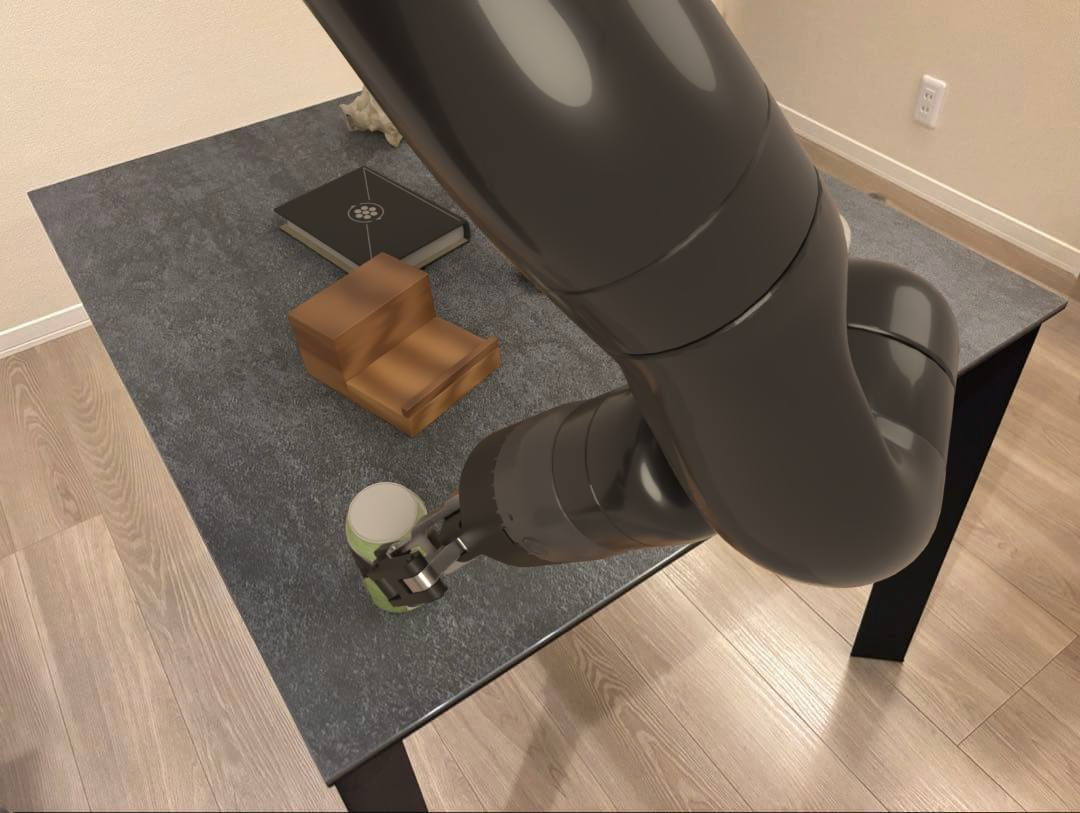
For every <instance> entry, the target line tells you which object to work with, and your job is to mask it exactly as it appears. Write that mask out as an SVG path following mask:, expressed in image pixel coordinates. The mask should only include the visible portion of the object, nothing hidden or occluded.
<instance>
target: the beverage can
mask: <svg viewBox="0 0 1080 813" xmlns="http://www.w3.org/2000/svg"><path fill="white" fill-rule="evenodd" d="M426 514H428V511H427V507H426V505H425V503H424V502H423V500H422V499H421V498H420V496H419V495H418V494H417V493H415V492H414V491H413V490H411V489H409V488H408V487H406V486H404V485H403V484H400V483H396V482H391V481H381V482H377V483H373V484H370V485H369V486H366V487H365V488H363V489H362V490H361V491H360V490H359V492H358V493H357V494H356V495H355V496H354V497H353V499H352V501H351V502H350V505H349V507H348V508H347V510H346V513H345V515H344V520H343V533H344V537H345V540H346V543H347V545H348V547H349V550H350V553H351V556H352V558H353V561H354V563H355V565H356V569H357V570H358V573H359V576H360V578H361V581H362V584H363V587H364V589H365V591H366V593H367V596H368V597H369V599H370V600H371V602H372V603H373V604H374V605H375V606H376V607H378V608H380V609H382V610H384V611H386V612H391V613H395V614H396V613H397V614H398V613H399V614H402V613H408V612H411V611H415V610H417V609H419V608H421V607H422V606H424V605H425V604H426V603H423V604H415V605H407V606H400V607H393V606H392V605H391V604H390V603H389V601H388V599H387V598H386V596H385V595H384V594H383V593H382V591H381V590H380V589H379V588H378V587H377V585H376V584H375V583H374V582H373V581H371V579H370V578H369V577H368V576H367V572H368V571H369V570H370V567H371V566H372V565H373V561H374V560H375V559H377V558H376V556H375V555H374V551H375V550H376V549H378V548H379V547H380V546H381V545H382V544H386V543H390V542H395V541H400V540H403V539H404V538H406V537H407V536H409V535H410V534H411V530H412V528H413V527H414V526H415V524H416V523H417V522H418V520H419V519H420V518H421V517H423V516H425V515H426ZM416 548H417V549H418V550H419V551H420V552H421V554H422V555H423V556H424V557H425V556H427V554H426V553H425V552H424V550H423V549H422V548H421V547H420V546H414V547H413V548H411V551H413V550H414V549H416Z"/></svg>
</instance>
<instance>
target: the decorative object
mask: <svg viewBox="0 0 1080 813" xmlns="http://www.w3.org/2000/svg"><path fill="white" fill-rule="evenodd" d="M338 107H339V108H341V110H342V112H343V114H344V117H345V120H346V127H347V128H346V129H347V130H348V131H349V133H355V131H361V132H367V130H369V131H371V132H375V131H379V132H381V133H383V135H384V137H385V140H386V142H388V143H389V145H391V146H392V147H394V148H398V147H399V146H400V142H401V140H402V139H403V137H402V136H401V134H400V133H399V132H398V130H397V129H396V128H395V126H394V125H393V124H392V122H391V121H390V120H389V118H388V117H387V116H386V114H385V113H384V112H383V110H382V109H381V108H380V106H379V105H378V103H377V102H376V101H375V99H374V98H373V96H372V95H371V94H370V92H369V91H368V89H367V88H366V87H365V85H364V84H363V85H362V90H361V94H360V95H356V97H355V99H354V100H353V101H352V102H351V103H350V104H346V103H345V104H344V103H343V104H342V103H341V104H339V105H338Z"/></svg>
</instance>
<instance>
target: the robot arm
mask: <svg viewBox="0 0 1080 813" xmlns="http://www.w3.org/2000/svg"><path fill="white" fill-rule="evenodd" d="M301 1H302V2H303V4H304V5H305V6H306V8H307V9H308V10H309V12H310V13H311V14H312V16H313V17H314V19H315V20H316V21H317V22H318V24H319V25H320V26H321V28H322V29H323V31H324V32H325V33H326V34H327V36H328V38H330V40H331V41H332V43H333V45H335V47H336V48H337V50H338V51H339V52H340V54H341V55H342V56H343V58H344V59H345V61H346V62H347V63H348V65H349V66H350V67H351V69H352V70H353V71H354V73H355V75H356V76H357V77H358V79H359V80H360V81H361V83H362V84H363V85H365V87H366V88H367V89H368V91H369V92H370V94H371V95H372V96H373V98H374V99H375V101H376V102H377V103H378V105H379V106H380V108H381V109H382V110H383V112H384V113H385V114H386V116H387V117H388V118H389V120H390V121H391V122H392V124H393V125H394V126H395V128H396V129H397V130H398V132H399V133H400V134H401V136H402V139H403V140H404V141H405V143H406V144H407V145H408V146H409V147H410V149H411V150H412V152H413V153H414V154H415V155H416V157H417V158H418V159H419V160H420V162H421V163H422V164H423V165H424V167H425V168H426V169H427V170H428V171H429V173H430V174H431V176H432V177H433V178H434V179H435V180H436V182H437V183H438V184H439V185H440V186H441V187H442V188H443V190H444V191H445V192H446V194H448V196H449V197H450V198H451V199H452V201H453V202H454V203H455V204H456V205H457V206H458V207H459V208H460V209H461V211H462V212H463V213H464V214H465V215H466V216H467V217H468V218H469V220H470V221H471V222H472V224H474V225H475V227H476V228H478V230H480V232H481V233H482V234H483V235H484V236H485V237H486V238H487V239H488V240H489V242H491V243H492V244H493V245H494V246H495V247H496V248H497V250H498V251H499V252H500V253H502V255H504V257H505V258H506V259H508V260H509V261H510V263H512V265H514V266H515V267H516V269H518V271H520V272H521V273H522V275H523V276H524V275H525V276H526V277H527V278H528V279H527V278H526V277H525V276H524V277H525V278H526V279H527V280H529V282H531V283H532V284H533V286H535V287H536V288H537V289H538V290H539V291H540V292H541V293H542V294H543V295H544V296H545V297H546V298H548V300H550V301H551V302H552V303H553V304H554V306H556V307H557V308H558V309H559V310H560V311H561V312H562V313H563V314H564V315H565V316H566V317H567V318H568V319H570V320H571V322H572V323H574V324H575V325H576V326H577V327H578V329H580V330H581V331H582V332H583V333H584V334H585V335H586V336H587V337H588V338H589V339H591V341H592V342H594V343H595V345H597V347H599V348H600V349H601V350H602V351H604V353H606V354H607V355H608V356H609V357H610V358H611V359H612V360H613V361H614V362H615V363H616V364H617V365H618V367H619V368H620V370H621V372H622V374H623V376H624V379H625V381H626V383H627V384H625V385H622V386H619V387H617V388H614V389H612V390H609V391H607V392H604V393H602V394H599V395H597V396H595V397H592V398H591V397H590V398H589V399H588V398H587V399H581V400H574V401H570V402H566V403H563V404H560V405H557V406H555V407H552V408H550V409H548V410H544V411H542V412H540V413H537V414H534V415H533V416H530V417H528V418H525V419H522V420H520V421H518V422H515V423H513V424H510V425H508V426H505V427H503V428H501V429H498V430H496V431H494V432H491V433H490V434H488V435H487V436H485V437H484V438H482V439H481V440H480V441H479V442H478V443H477V444H476V445H475V446H474V447H473V449H472V450H471V451H470V453H469V454H468V456H467V458H466V460H465V462H464V464H463V467H462V469H461V473H460V476H459V483H458V488H457V489H456V490H454V491H452V493H451V494H450V495H449V497H448V498H447V500H445V502H444V503H442V504H440V505H439V506H437V507H435V508H434V509H432V510H431V511H429V512H427V514H426V515H425V516H423V517H421V518H420V519H419V520H418V522H417V523H416V524H415V526H414V527H413V528H412V530H411V534H410V535H409V536H407V537H406V538H404V539H403V540H400V541H395V542H390V543H386V544H382V545H381V546H380V547H379V548H378V549H376V550H375V551H374V555H375V556H376V558H377V559H375V560H374V561H373V565H372V566H371V567H370V570H369V571H368V572H367V576H368V577H369V578H370V579H371V581H373V582H374V583H375V584H376V585H377V587H378V588H379V589H380V590H381V591H382V593H383V594H384V595H385V596H386V598H387V599H388V601H389V603H390V604H391V605H392V606H393V607H400V606H407V605H415V604H423V603H425V604H429V603H433V602H435V601H439V600H441V598H442V597H444V595H445V593H446V592H447V591H448V589H449V586H448V585H447V583H445V581H444V579H443V578H442V577H441V576H442V575H445V576H447V575H451V574H452V573H454V572H455V571H457V570H459V569H460V568H463V567H464V566H466V565H467V564H469V563H470V562H472V561H474V560H476V559H478V558H479V557H488V558H490V559H492V560H494V561H497V562H499V563H502V564H505V565H508V566H511V567H517V568H536V567H544V566H545V567H546V566H554V565H564V564H572V563H581V562H592V561H600V560H606V559H609V558H613V557H615V556H619V555H622V554H624V553H626V552H633V551H642V550H650V549H651V550H652V549H658V548H668V547H675V546H684V545H690V544H695V543H699V542H702V541H705V540H707V539H710V538H712V537H714V536H716V535H718V536H719V537H720V538H721V539H722V540H723V541H724V542H726V544H728V545H729V546H730V547H731V548H732V549H733V550H734V551H736V552H738V553H739V554H740V555H741V556H743V557H745V558H746V559H748V560H749V561H750V562H752V563H753V564H755V565H756V566H758V567H761V568H762V569H763V570H765V571H768V572H770V573H772V574H774V575H776V576H779V577H781V578H784V579H786V580H789V581H791V582H795V583H798V584H802V585H806V586H812V587H817V588H829V589H852V588H853V589H854V588H860V587H864V586H868V585H872V584H875V583H877V582H881V581H883V580H886V579H889V578H891V577H892V576H894V575H896V574H897V573H899V572H900V571H902V570H904V569H905V568H907V567H908V566H909V565H910V564H912V563H913V562H914V561H915V560H916V559H917V558H918V557H919V556H920V555H921V553H922V552H923V551H924V550H925V548H926V547H927V545H928V544H929V543H930V541H931V538H932V536H933V535H934V533H935V530H936V528H937V525H938V522H939V518H940V515H941V512H942V506H943V505H942V504H943V500H944V499H943V498H944V492H945V491H944V490H945V483H946V474H947V463H948V454H949V447H950V446H949V445H950V437H951V429H952V421H953V412H954V404H955V395H956V387H957V381H958V380H957V379H958V372H959V371H958V370H959V360H960V336H959V327H958V321H957V320H956V317H955V314H954V312H953V309H952V307H951V305H950V303H949V302H948V300H947V298H946V297H945V296H944V295H943V293H942V292H941V291H940V290H939V289H938V288H937V287H936V286H935V285H934V284H933V283H932V282H930V281H929V280H928V279H926V278H925V277H923V276H922V275H921V274H920V273H917V272H915V271H913V270H912V269H908V268H907V267H903V266H901V265H899V264H896V263H893V262H890V261H885V260H881V259H874V258H863V257H849V251H848V250H847V242H846V237H845V232H844V227H843V224H842V221H841V218H840V215H839V213H840V212H839V210H838V208H837V205H836V203H835V201H834V199H833V196H832V194H831V192H830V189H829V188H828V186H827V184H826V182H825V180H824V178H823V177H822V176H821V174H820V172H819V170H818V169H817V167H816V166H815V164H814V161H813V160H812V159H811V157H810V155H809V154H808V152H807V151H806V149H805V147H804V146H803V144H802V142H801V140H800V138H799V137H798V135H797V134H796V132H795V130H794V129H793V127H792V125H791V123H790V122H789V120H788V119H787V117H786V116H785V114H784V112H783V110H782V109H781V107H780V106H779V104H778V102H777V101H776V99H775V97H774V95H773V94H772V92H771V91H770V89H769V87H768V86H767V84H766V83H765V81H764V80H763V77H762V76H761V74H760V72H759V71H758V69H757V67H756V66H755V65H754V63H753V61H752V60H751V58H750V57H749V55H748V53H747V52H746V50H745V49H744V47H743V46H742V44H741V43H740V41H739V40H738V38H737V37H736V35H735V34H734V32H733V31H732V29H731V28H730V26H729V25H728V23H727V21H726V20H725V19H724V17H723V15H722V13H720V12H721V11H719V9H718V7H717V6H716V5H715V3H714V2H713V1H712V0H301ZM441 521H442V523H441V528H440V531H439V532H438V531H437V529H436V528H435V525H436V524H438V523H440V522H441ZM414 546H420V547H421V548H422V549H423V550H424V552H425V553H426V554H427V556H425V557H424V556H423V555H422V554H421V552H420V551H419V550H418V549H417V548H416V549H414V550H413V551H411V548H413V547H414ZM0 813H14V812H13V811H12V810H11V809H9V808H8V807H6V806H5V805H3V803H1V802H0Z"/></svg>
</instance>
